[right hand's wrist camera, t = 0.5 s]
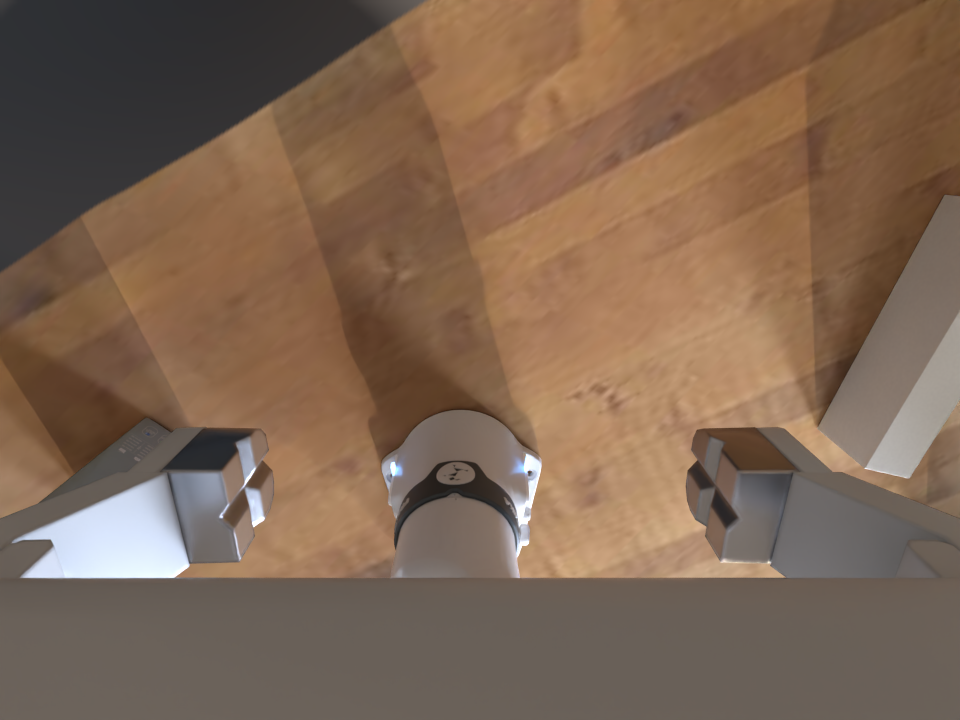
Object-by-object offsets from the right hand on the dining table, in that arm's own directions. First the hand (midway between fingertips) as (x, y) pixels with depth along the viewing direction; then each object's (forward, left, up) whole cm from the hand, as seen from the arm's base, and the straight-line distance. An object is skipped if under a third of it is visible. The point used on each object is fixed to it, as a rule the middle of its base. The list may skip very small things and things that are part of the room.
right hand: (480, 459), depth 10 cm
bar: (-13, -44, -46) cm, 65 cm away
